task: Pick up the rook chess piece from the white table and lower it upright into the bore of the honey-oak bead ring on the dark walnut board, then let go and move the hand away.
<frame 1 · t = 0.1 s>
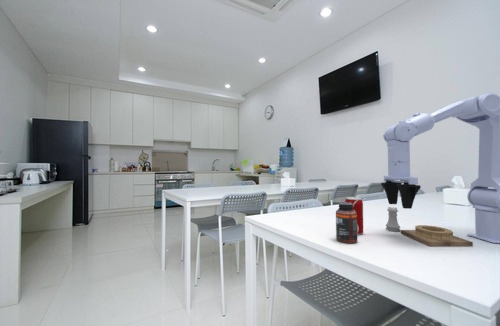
hand: (399, 206, 69), 10 cm above the table, tool pointing down, fingers open, 7 cm apart
supplement bottle: (346, 241, 67), on the table
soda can: (354, 233, 75), on the table
bead board: (433, 239, 68), on the table
rook chess piece: (392, 230, 78), on the table
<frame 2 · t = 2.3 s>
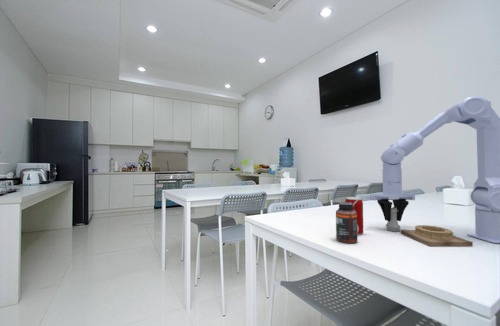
hand: (392, 220, 78), 3 cm above the table, tool pointing down, fingers closed on rook chess piece, 3 cm apart
rook chess piece: (392, 230, 78), on the table, touching gripper
everything else where it was.
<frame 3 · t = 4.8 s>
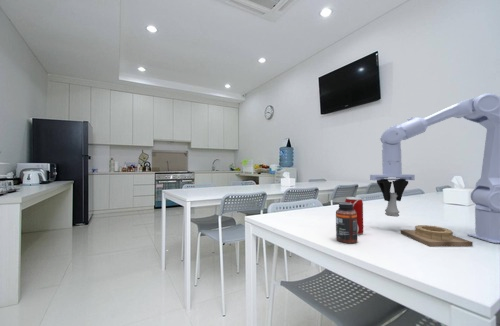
hand: (392, 200, 78), 10 cm above the table, tool pointing down, fingers closed on rook chess piece, 3 cm apart
rook chess piece: (392, 216, 78), point 5 cm above the table, touching gripper
everything else where it was.
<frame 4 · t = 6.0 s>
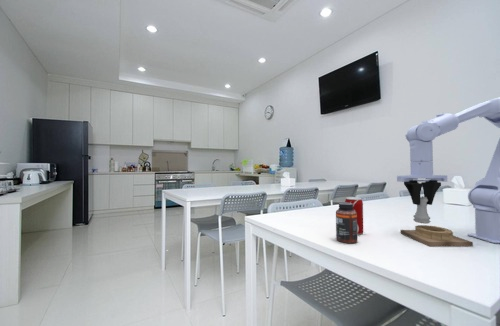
hand: (422, 204, 70), 10 cm above the table, tool pointing down, fingers closed on rook chess piece, 3 cm apart
rook chess piece: (421, 222, 71), point 5 cm above the table, touching gripper
everything else where it was.
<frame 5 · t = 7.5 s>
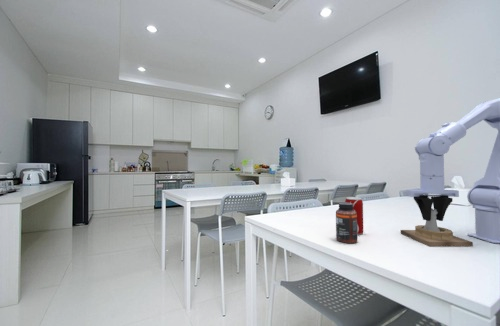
hand: (432, 220, 68), 6 cm above the table, tool pointing down, fingers closed on rook chess piece, 3 cm apart
rook chess piece: (431, 235, 68), point 1 cm above the table, touching bead board, gripper
everything else where it was.
when the fingers open (6 cm above the table, at t = 8.3 s): rook chess piece stays where it is, resting on bead board.
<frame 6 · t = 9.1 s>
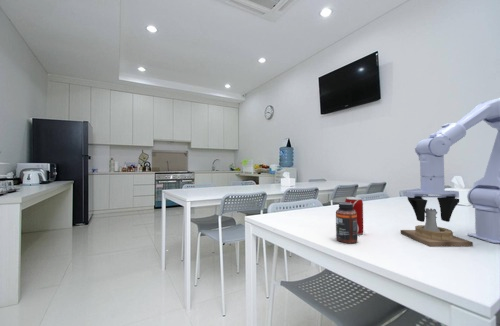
hand: (433, 221, 68), 6 cm above the table, tool pointing down, fingers open, 7 cm apart
rook chess piece: (431, 235, 68), point 1 cm above the table, touching bead board
everything else where it was.
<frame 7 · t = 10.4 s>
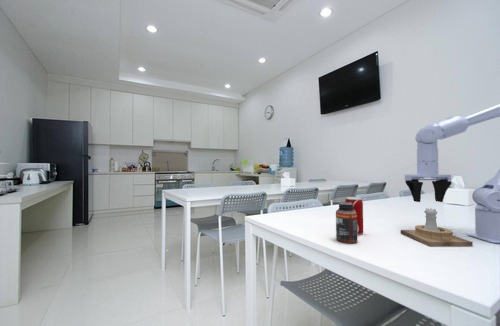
hand: (427, 201, 76), 10 cm above the table, tool pointing down, fingers open, 7 cm apart
nothing on the table moved.
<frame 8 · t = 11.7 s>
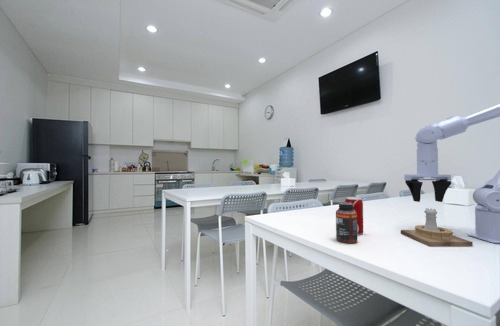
hand: (427, 201, 76), 10 cm above the table, tool pointing down, fingers open, 7 cm apart
nothing on the table moved.
at the end: rook chess piece 0.5 cm off-centre on the bead board, point 1.0 cm above the bead board's base; rook chess piece tilted 0°; the gripper is holding nothing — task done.
